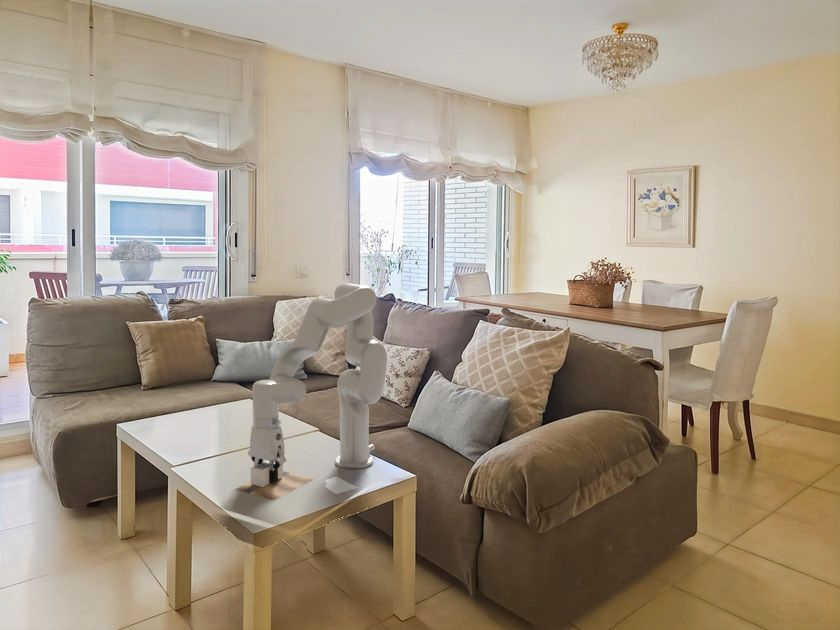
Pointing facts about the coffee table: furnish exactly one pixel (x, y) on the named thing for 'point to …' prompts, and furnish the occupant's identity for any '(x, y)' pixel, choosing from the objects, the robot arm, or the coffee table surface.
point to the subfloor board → (277, 486)
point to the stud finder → (263, 474)
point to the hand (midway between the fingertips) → (267, 479)
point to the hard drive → (338, 485)
